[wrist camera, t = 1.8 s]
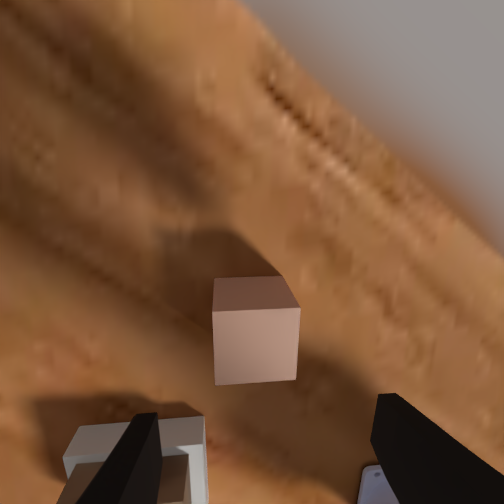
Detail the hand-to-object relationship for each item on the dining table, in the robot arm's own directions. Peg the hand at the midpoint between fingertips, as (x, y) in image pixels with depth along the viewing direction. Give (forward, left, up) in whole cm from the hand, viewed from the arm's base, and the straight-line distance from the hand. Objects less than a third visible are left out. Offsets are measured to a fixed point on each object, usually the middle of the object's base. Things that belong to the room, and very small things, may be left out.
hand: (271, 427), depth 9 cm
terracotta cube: (0, 0, -8) cm, 8 cm away
